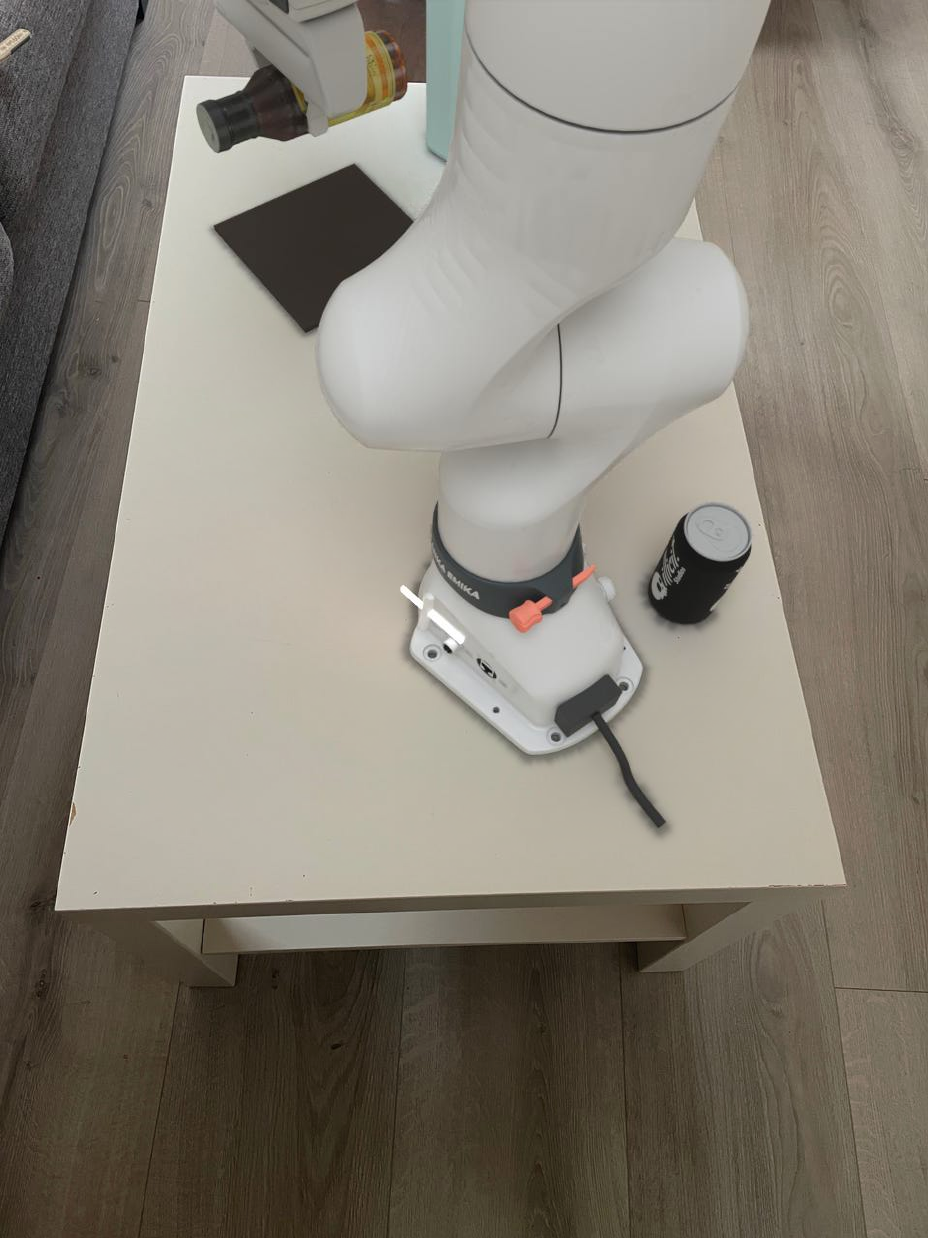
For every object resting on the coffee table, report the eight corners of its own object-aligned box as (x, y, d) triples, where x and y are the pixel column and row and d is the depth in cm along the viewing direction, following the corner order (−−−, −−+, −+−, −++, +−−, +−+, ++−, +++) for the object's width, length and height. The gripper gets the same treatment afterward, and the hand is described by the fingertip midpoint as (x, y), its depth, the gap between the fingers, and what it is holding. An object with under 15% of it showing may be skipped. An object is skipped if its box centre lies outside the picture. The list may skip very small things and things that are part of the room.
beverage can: (692, 640, 80) (733, 578, 69) (633, 601, 81) (665, 535, 71) (726, 592, 82) (772, 524, 72) (668, 555, 84) (704, 484, 73)
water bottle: (411, 130, 111) (407, -100, 89) (480, 112, 113) (494, -117, 91) (442, 177, 107) (447, -51, 85) (513, 158, 109) (536, -69, 87)
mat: (449, 260, 101) (449, 256, 100) (305, 332, 95) (305, 328, 94) (354, 167, 107) (354, 162, 107) (214, 229, 101) (213, 225, 101)
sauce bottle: (420, 88, 81) (236, 166, 75) (392, 106, 86) (219, 180, 80) (391, 10, 78) (198, 84, 72) (365, 33, 83) (183, 104, 77)
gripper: (169, -111, 69) (208, 63, 82) (305, 11, 63) (325, 181, 75) (237, -132, 71) (264, 42, 84) (376, -15, 64) (384, 155, 77)
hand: (294, 109), depth 79 cm, fingers closed on sauce bottle, 6 cm apart
